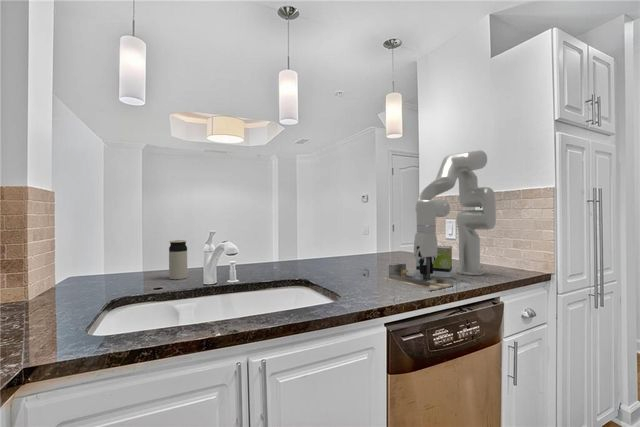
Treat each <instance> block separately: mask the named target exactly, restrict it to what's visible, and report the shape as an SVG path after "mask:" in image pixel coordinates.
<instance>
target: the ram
mask: <svg viewBox="0 0 640 427" xmlns="http://www.w3.org/2000/svg"><path fill="white" fill-rule="evenodd" d="M426 265H427V275H422V276H420V272H416V270H415V271H413V270H412V271H411V270H410V271H409V272H406V278H411V279H416V280H421V281H426V282H430V284H434V283H438V279H439V278H438V279H436V277H432V276H430V257H426ZM431 277H432V278H431Z"/></svg>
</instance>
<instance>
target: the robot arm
mask: <svg viewBox="0 0 640 427" xmlns="http://www.w3.org/2000/svg"><path fill="white" fill-rule="evenodd" d="M487 163H488V155H487V154H486V152H485V151H484V150H474V151H473V150H472V151H467V152H466V151H465V152H459V153H458V152H457V153H453V154H452V153H451V154H448V155H447V156H445V157H444V158H443V159H442V162H441V163H440V164H441V165H440V167H439V170H438V172H437V174H436V178H435V179H434V180H433V181H431V183H429V184H428V185H427V186H426V187H424V189H422V191H421V192H420V194H419V195H418V198H417V201H416V203H415V213H416V232H415V234H414V241H413V255H414V260H417V261H418V262H419V264H420V274H423V275H427V265H426V257H430V274H433V264H434V260H435V258H436V257H437V246H438V239H437V238H438V237H437V232H436V226H437V225H436V223H437V222H436V218H444V217H447V216H448V215H449V214H450V212H451V205H450V203H449V201H447V200H445V199H433V198H435V197H437V196H439V195H441V194H443V193H446V192H448V191H450V190H452V189H453V188H454V187H455V186H456V182H457V179H458V199H459V204H460V206H462V207H464V208H482V209H465V210H460V211H459V212H457V214H456V225H457V226H456V227H457V230H458V269H456V270H455V273H456V274H458V273H459V274H458V275H462V274H464V275H463V276H472V275H477V276H483V275H485V274H484V271H483V270H481V269H484V267H485V265H484V264H482V263H481V240H480V236H479V234H478V232H477V231H476V230H481V231H482V230H483V231H484V230H485V231H486V230H488V231H489V230H493V229H494V228H495V226H496V221H497V220H496V218H497V216H496V215H497V212H496V211H497V210H496V208H497V207H496V194H495V192H494V190H493V189H492V188H491V187H487V186H484V187H483V186H482V187H481V186H480V187H479V185H478V184H479V181H478V176H477V174H476V173H475V172H474V171H477V170H481V169H483V168H485V166H486V165H487ZM422 259H423V260H422ZM482 274H483V275H482ZM423 275H422V276H423Z"/></svg>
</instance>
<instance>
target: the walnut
mask: <svg viewBox="0 0 640 427" xmlns="http://www.w3.org/2000/svg"><path fill="white" fill-rule="evenodd" d="M406 272H410V271H409V270H408V269H406V270H402V271H401V277H406Z"/></svg>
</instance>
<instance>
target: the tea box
mask: <svg viewBox="0 0 640 427" xmlns="http://www.w3.org/2000/svg"><path fill="white" fill-rule="evenodd" d="M415 260H416V259H415ZM422 260H423V259H422ZM415 262H416V263H415V267H416V268H415V272H420V264H419V262H418V261H417V260H416V261H415ZM452 264H453V246H450V245H437V257H436V258H435V260H434V264H433V274H430V277H438V278H441V277H442V278H451V277H452V275H453V274H452V273H453V265H452ZM420 275H422V276H423V274H420Z"/></svg>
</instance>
